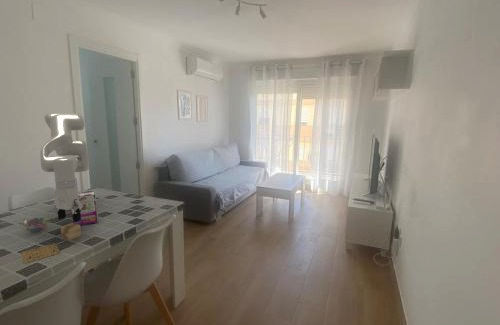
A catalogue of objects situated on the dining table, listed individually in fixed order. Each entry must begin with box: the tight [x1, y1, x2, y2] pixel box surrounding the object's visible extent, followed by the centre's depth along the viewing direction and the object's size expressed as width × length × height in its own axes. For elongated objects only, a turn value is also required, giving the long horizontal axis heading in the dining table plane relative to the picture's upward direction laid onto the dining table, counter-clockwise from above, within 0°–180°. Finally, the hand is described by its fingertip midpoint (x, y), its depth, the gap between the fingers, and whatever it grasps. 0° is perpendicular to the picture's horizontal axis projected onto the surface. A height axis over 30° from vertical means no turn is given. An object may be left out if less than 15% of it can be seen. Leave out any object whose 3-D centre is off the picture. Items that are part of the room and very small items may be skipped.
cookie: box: [20, 242, 61, 265], centre depth 107 cm, size 12×12×1 cm
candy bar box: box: [70, 191, 99, 226], centre depth 136 cm, size 11×5×16 cm, turn 117°
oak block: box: [60, 222, 82, 241], centre depth 122 cm, size 6×6×6 cm
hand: (69, 219), depth 120 cm, fingers open, 9 cm apart
